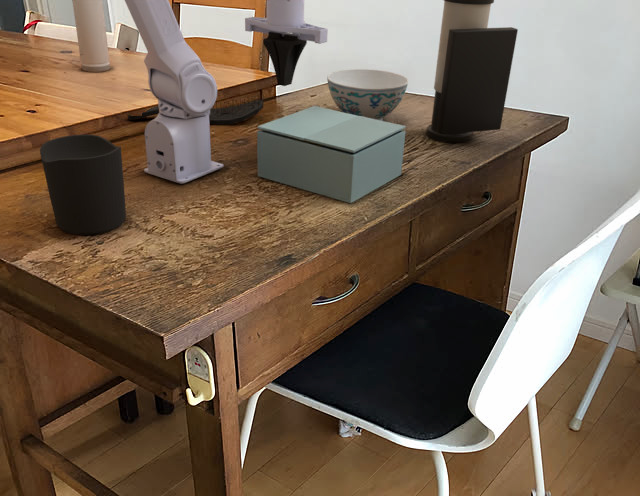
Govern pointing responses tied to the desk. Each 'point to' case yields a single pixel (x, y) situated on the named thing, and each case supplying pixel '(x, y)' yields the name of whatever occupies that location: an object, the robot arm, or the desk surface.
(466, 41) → the light fixture
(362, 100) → the chinaware
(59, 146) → the pen holder
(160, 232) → the desk surface
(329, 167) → the case
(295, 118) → the flap
